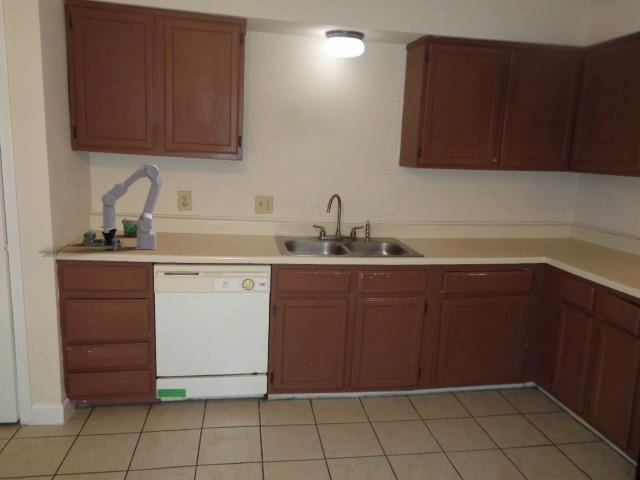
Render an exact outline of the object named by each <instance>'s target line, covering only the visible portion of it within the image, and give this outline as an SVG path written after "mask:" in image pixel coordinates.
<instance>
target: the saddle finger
mask: <svg viewBox="0 0 640 480" xmlns="http://www.w3.org/2000/svg"><path fill="white" fill-rule="evenodd" d="M101 239H102V247H101V248H102V251H104V252H105V251H106V250H107V248H113V251H114V252H116V251H117V250H118V248H119V247H118V244H117V239H118V238H115V237H114V238H112V244H111V245H106V242H105V238H104V237H103V238H101Z"/></svg>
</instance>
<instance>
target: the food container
mask: <svg viewBox="0 0 640 480" xmlns="http://www.w3.org/2000/svg"><path fill="white" fill-rule="evenodd" d="M136 222H137V220H134V219H133V220H132V219H131V220H129V219H127V217H126V218H125V217H124V218H122V220H121V224H122V225H123V226H122V227H123V236H124V238H126V237H127V238H126V239H137V230H138V227H137V225H136Z"/></svg>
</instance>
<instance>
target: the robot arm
mask: <svg viewBox="0 0 640 480" xmlns="http://www.w3.org/2000/svg"><path fill="white" fill-rule="evenodd" d="M147 177H148V179H149V181H150V183H151V185H150V187H149V190H148V194H147V196H146V200H145V203H144V206H143V210H142V212H141V214H140V216H139V218H137V220H136V221H137V222H136V225H137V227H138V230H137V238H136V247H135V250H155V249H156V248H157V232H156V231H153V230H152V228H153V215H154V211H155V208H156V205H157V202H158V198H159V195H160V192H161V189H162V185H163V180H162V175H161V171H160V169H159V167H158V166H157V165H155V164H152V163H151V162H150V163H149V162H148V163H147V162H146V163H144V164H143V165H142V166H140V167H138V169H137V170H135V171H134V172H133V173H132V174H131V175H130V176H129V177H128V178H126V180H125V181H124V182H118V183H115V184H114V187H113V188H111V189H110V190H108V191H106V192H107V193H105V194H103V195H102V196H101V202H102V225H101V226H100V228H101V229H103V231H102V232H101V234H102V236H103V239H104V238H105V242H106V245H111V244H112V238H115V236H116V233H117V231H118V229H117V226H116V208H115V205H116V203H117V200H120V198H122V197H123V196H124V195H125V194H126V193H128V188H129V187H130V186H132V185H133V184H134V183H135V182H137V181H139V179H143V178H147Z"/></svg>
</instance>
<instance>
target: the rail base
mask: <svg viewBox="0 0 640 480" xmlns="http://www.w3.org/2000/svg"><path fill="white" fill-rule="evenodd" d="M96 234H97V233H96V231H92V230H91V231H88V230H87V231H85V232H84V233H83V239H82V242H81V243H79V247H99V248H100V247H101V248H102V239H103V238H97V235H96ZM124 243H125V242H124V241H121V239H119V238H117V244H118V248H121V247H122V246H123V245H124Z"/></svg>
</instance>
